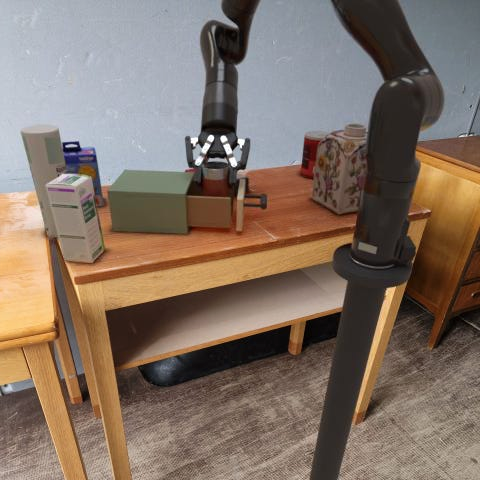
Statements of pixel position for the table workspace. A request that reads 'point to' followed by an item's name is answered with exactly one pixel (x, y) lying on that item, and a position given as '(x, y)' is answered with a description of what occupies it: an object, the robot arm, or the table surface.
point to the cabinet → (150, 201)
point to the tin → (215, 179)
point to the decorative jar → (341, 169)
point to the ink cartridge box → (84, 165)
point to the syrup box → (76, 217)
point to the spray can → (44, 165)
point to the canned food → (311, 152)
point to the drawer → (218, 207)
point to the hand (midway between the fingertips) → (215, 186)
